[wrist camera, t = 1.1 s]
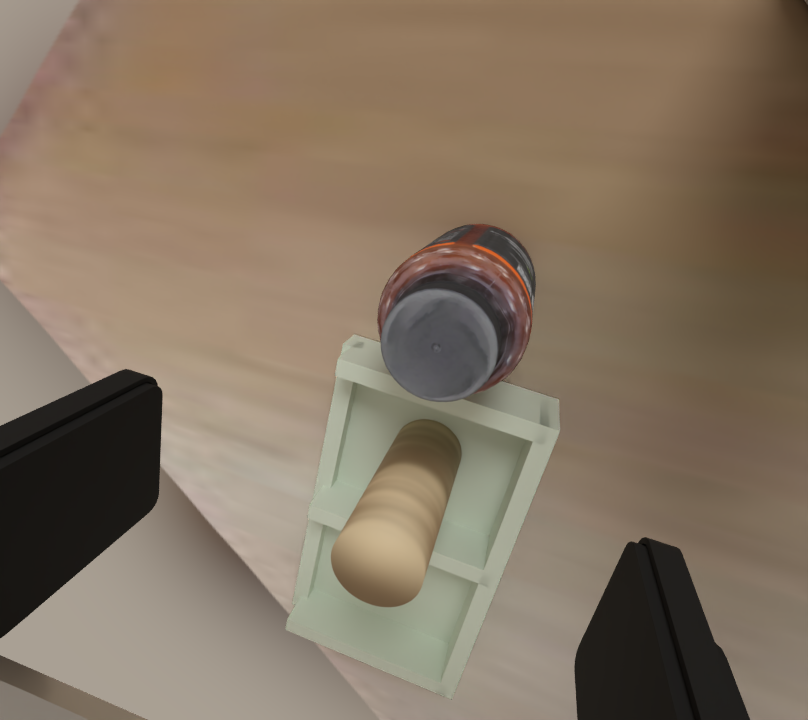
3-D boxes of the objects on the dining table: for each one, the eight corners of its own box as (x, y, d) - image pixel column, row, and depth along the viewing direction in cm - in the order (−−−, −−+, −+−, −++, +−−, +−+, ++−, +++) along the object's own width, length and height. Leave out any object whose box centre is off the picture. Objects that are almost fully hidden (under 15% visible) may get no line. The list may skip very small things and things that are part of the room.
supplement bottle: (403, 296, 29) (320, 366, 18) (460, 199, 26) (402, 217, 16) (494, 355, 29) (462, 460, 18) (561, 263, 26) (568, 324, 16)
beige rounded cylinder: (403, 410, 30) (339, 513, 21) (469, 432, 30) (433, 549, 20) (388, 466, 32) (323, 585, 23) (451, 488, 31) (410, 620, 22)
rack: (354, 334, 30) (329, 355, 27) (558, 399, 28) (559, 431, 25) (303, 585, 38) (278, 626, 35) (461, 649, 36) (451, 699, 33)
